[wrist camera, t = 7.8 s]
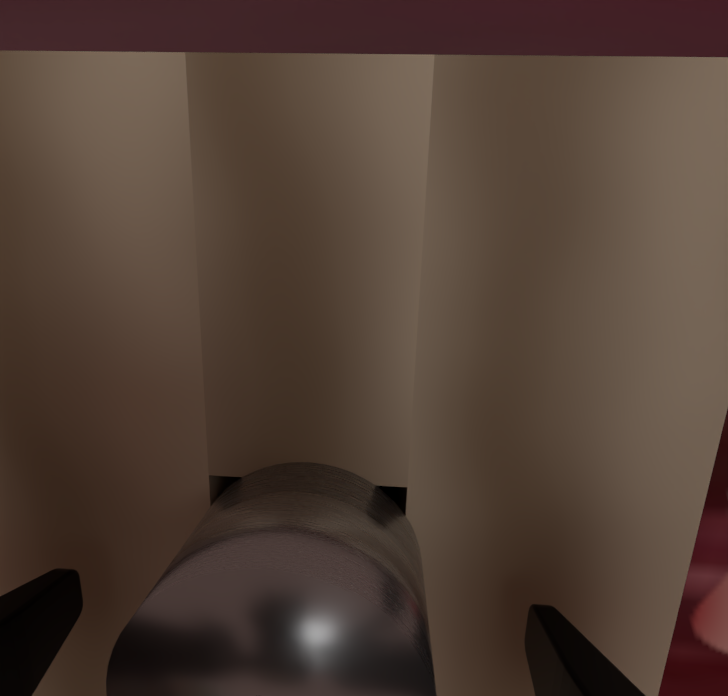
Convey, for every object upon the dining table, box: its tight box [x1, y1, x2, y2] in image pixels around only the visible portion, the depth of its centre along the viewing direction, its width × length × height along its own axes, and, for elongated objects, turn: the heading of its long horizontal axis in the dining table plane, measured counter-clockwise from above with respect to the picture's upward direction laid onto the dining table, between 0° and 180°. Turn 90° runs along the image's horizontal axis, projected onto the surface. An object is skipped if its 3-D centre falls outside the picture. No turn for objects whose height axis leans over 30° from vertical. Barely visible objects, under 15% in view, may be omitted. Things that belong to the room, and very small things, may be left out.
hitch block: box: [0, 51, 728, 696], centre depth 12 cm, size 16×20×6 cm
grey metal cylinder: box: [106, 462, 437, 696], centre depth 10 cm, size 5×5×8 cm
